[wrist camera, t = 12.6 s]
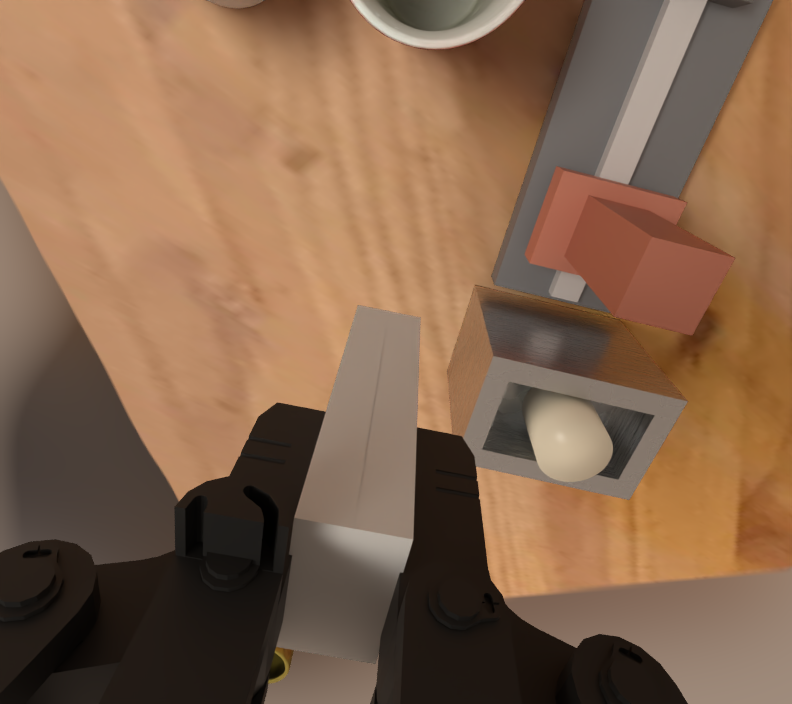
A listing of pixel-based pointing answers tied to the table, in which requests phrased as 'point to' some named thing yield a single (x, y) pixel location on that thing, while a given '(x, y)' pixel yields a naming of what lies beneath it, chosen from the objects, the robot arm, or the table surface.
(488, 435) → the grey box holder
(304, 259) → the table surface
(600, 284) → the carriage
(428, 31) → the mug
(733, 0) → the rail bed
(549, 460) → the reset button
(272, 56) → the table surface
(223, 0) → the cup
